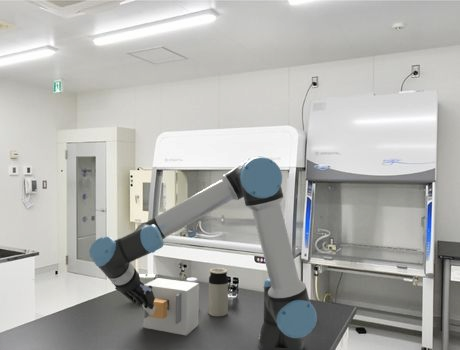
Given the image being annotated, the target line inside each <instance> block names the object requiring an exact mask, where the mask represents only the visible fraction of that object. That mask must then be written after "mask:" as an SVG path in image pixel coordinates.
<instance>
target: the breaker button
mask: <svg viewBox="0 0 460 350" xmlns="http://www.w3.org/2000/svg"><path fill="white" fill-rule="evenodd" d="M153 304H154V306H155V307H156V309H155V312H154V314H153V315H149V317H154V318H160V319H164V318H165V317H166V316H167V307H168V306H169V301H167V300H163V299H156V298H155V300H154V302H153Z"/></svg>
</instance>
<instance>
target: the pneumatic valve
mask: <svg viewBox="0 0 460 350" xmlns="http://www.w3.org/2000/svg"><path fill="white" fill-rule="evenodd" d="M138 274H139V276H140V281H141V282H142V283H143V284H144V285H145V284H147V283H149V282H151V281H153V280H155V279H157V278H159V276H158V274H157V273H155V274H153V273H151V274H150V273H147V272H145V273H144V274H143V273H142V274H141V273H138Z"/></svg>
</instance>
